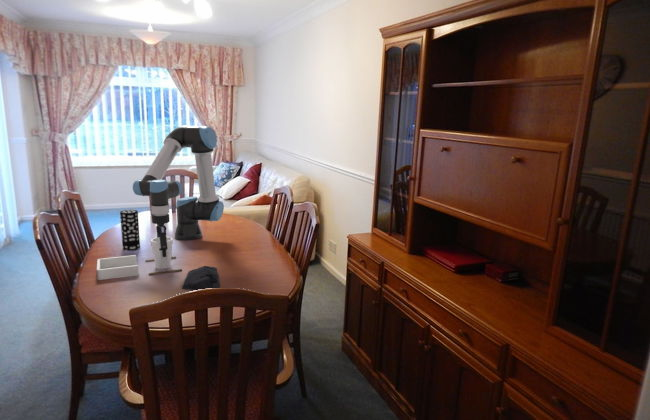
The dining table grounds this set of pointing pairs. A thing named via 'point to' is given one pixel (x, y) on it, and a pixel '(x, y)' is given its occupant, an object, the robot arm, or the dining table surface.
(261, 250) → the dining table surface
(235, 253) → the dining table surface
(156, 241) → the foam cup
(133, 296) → the dining table surface
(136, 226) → the white-spotted black cylinder
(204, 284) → the dark slate chunk
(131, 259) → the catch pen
